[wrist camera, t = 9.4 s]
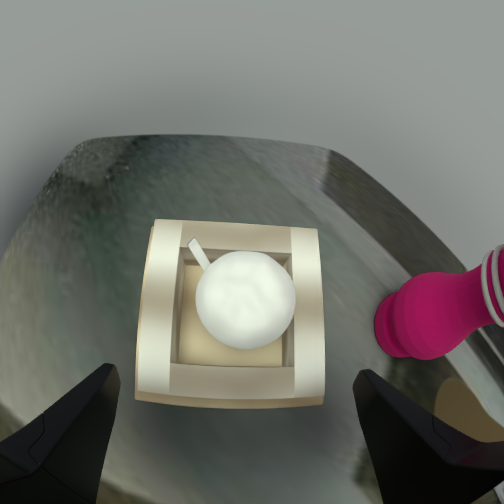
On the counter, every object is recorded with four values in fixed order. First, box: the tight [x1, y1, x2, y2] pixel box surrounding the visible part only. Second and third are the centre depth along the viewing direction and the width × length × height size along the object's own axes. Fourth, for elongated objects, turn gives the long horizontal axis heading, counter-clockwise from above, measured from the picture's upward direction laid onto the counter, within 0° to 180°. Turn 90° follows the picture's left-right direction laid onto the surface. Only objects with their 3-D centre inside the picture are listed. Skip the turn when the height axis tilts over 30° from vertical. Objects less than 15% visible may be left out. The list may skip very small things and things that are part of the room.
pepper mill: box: [375, 244, 504, 360], centre depth 13 cm, size 7×7×20 cm
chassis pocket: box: [135, 219, 325, 409], centre depth 19 cm, size 14×14×5 cm
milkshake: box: [187, 237, 296, 349], centre depth 15 cm, size 5×5×10 cm
